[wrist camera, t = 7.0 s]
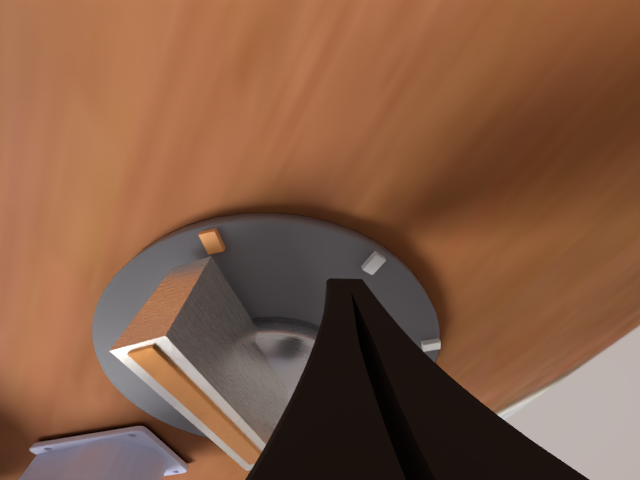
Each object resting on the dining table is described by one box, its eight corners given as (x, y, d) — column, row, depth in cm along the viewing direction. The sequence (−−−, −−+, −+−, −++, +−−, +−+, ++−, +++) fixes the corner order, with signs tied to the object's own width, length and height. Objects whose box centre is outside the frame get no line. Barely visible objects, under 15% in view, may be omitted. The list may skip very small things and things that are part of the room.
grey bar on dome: (362, 392, 17) (381, 487, 13) (241, 419, 18) (221, 516, 14) (294, 222, 11) (287, 306, 7) (109, 279, 12) (1, 382, 8)
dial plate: (197, 446, 22) (192, 465, 21) (14, 259, 12) (-16, 277, 11) (430, 409, 21) (437, 427, 20) (437, 170, 11) (452, 179, 10)
